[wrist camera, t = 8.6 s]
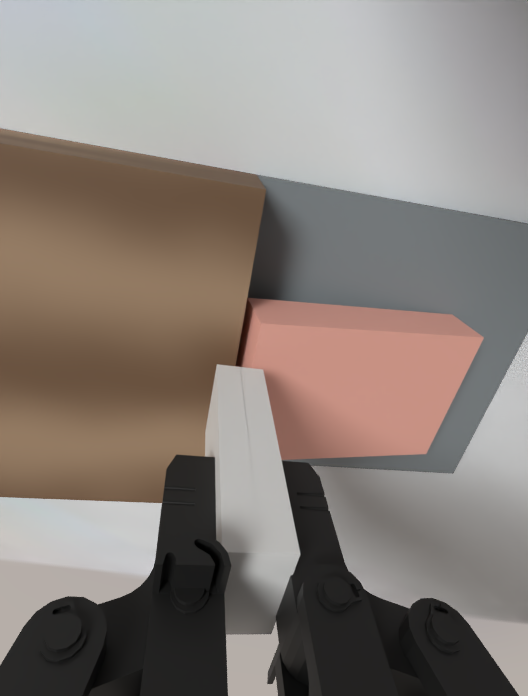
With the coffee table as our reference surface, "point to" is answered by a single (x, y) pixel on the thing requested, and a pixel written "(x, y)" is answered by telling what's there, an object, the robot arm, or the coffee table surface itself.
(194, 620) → the robot arm
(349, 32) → the coffee table surface
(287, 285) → the mat
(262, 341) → the pink rectangular block
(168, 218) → the brown flat block
